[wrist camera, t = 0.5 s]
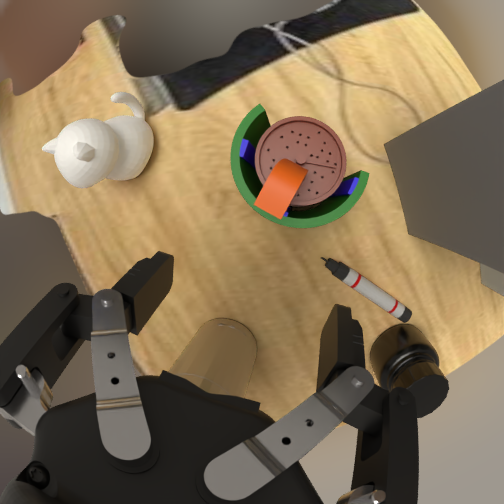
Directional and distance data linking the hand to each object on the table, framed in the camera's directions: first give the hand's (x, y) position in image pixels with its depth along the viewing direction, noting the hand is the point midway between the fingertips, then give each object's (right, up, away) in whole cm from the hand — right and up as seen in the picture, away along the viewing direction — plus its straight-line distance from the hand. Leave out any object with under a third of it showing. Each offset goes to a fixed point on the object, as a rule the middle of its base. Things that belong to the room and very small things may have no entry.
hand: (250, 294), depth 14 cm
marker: (+15, -3, +23) cm, 28 cm away
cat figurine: (-17, +17, +24) cm, 34 cm away
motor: (+6, +11, +22) cm, 25 cm away
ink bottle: (+21, -12, +24) cm, 34 cm away
